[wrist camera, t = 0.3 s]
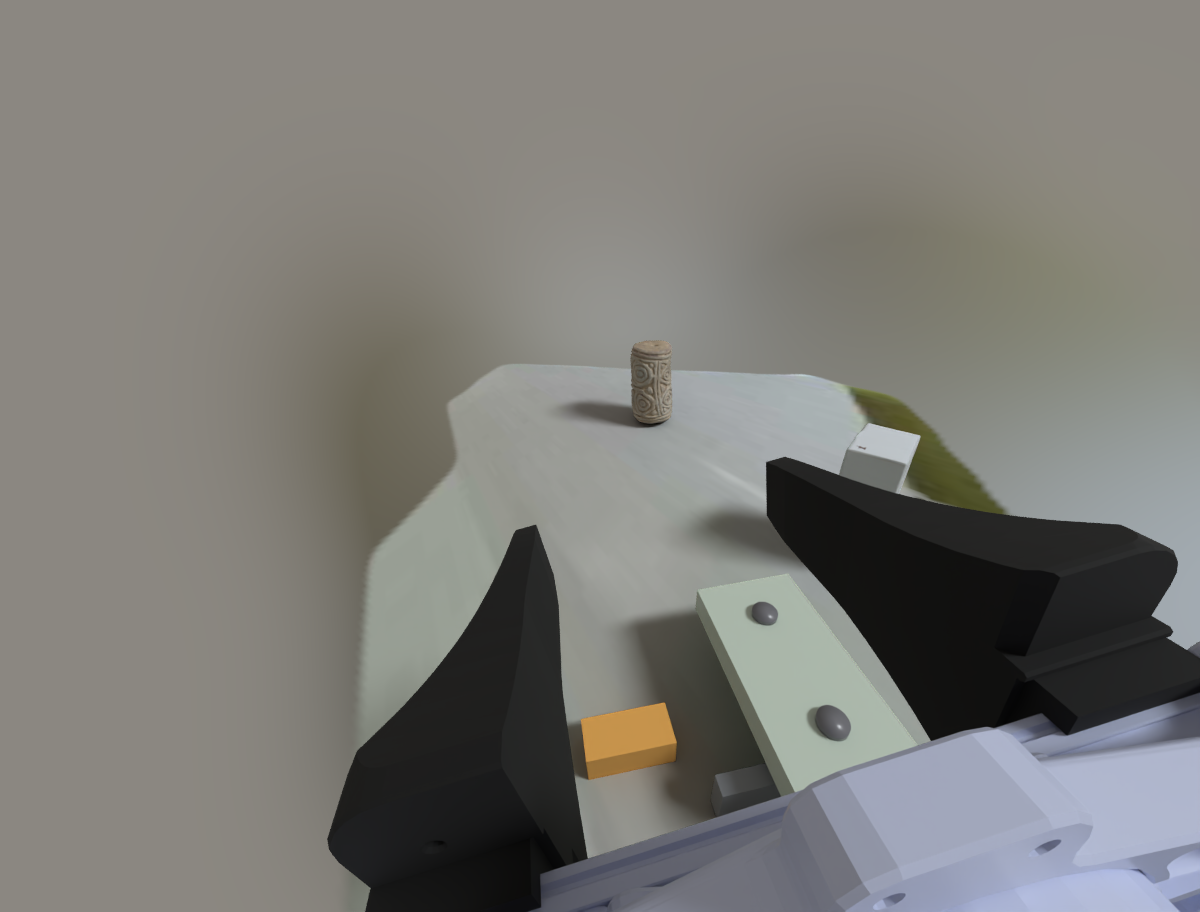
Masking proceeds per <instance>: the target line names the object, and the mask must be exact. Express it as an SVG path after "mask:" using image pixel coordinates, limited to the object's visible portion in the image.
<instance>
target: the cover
mask: <svg viewBox="0 0 1200 912" xmlns="http://www.w3.org/2000/svg"><path fill="white" fill-rule="evenodd" d="M696 611H697V613H698V615H699V618H700V620H701V622H702V624H703V626H704V628H705V631H706V633H707V635H708V637H709V639H710V642H711V644H712V646H713V648H714V650H715V653H716V655H717V657H718V659H719V661H720V664H721V666H722V668H723V670H724V672H725V675H726V677H727V679H728V681H729V683H730V686H731V688H732V690H733V692H734V694H735V697H736V699H737V701H738V703H739V705H740V708H741V710H742V712H743V714H744V716H745V719H746V721H747V723H748V725H749V727H750V730H751V732H752V734H753V736H754V738H755V740H756V743H757V745H758V747H759V749H760V751H761V754H762V756H763V758H764V760H765V762H766V765H767V767H768V769H769V771H770V773H771V776H772V778H773V780H774V782H775V784H776V787H777V789H778V791H779V793H780V795H781V797H782V796H785V795H788V794H791V793H794V792H797V791H800V790H803V789H805V788H806V787H807V786H808V785H809V784H811V783H813V782H815V781H817V780H819V779H822V778H824V777H826V776H828V775H830V774H833V773H835V772H837V771H840V770H843V769H846V768H849V767H852V766H855V765H859V764H862V763H865V762H868V761H871V760H874V759H877V758H880V757H884V756H887V755H890V754H893V753H896V752H899V751H902V750H905V749H909V748H912V747H915V746H918V745H917V743H916V742H915V741H914V739H913V738H912V737H911V735H910V734H909V733H908V731H907V730H906V729H905V728H904V726H903V725H902V724H901V722H900V721H899V720H898V718H897V717H896V716H895V714H894V713H893V712H892V710H891V709H890V708H889V706H888V705H887V704H886V702H885V701H884V700H883V698H882V697H881V696H880V694H879V693H878V692H877V690H876V689H875V688H874V687H873V685H872V684H871V683H870V681H869V680H868V679H867V677H866V676H865V675H864V673H863V672H862V671H861V669H860V668H859V667H858V665H857V664H856V663H855V661H854V660H853V659H852V657H851V656H850V655H849V653H848V652H847V651H846V649H845V648H844V647H843V646H842V644H841V643H840V642H839V640H838V639H837V638H836V636H835V635H834V634H833V632H832V631H831V630H830V628H829V627H828V626H827V624H826V623H825V622H824V620H823V619H822V618H821V616H820V615H819V614H818V612H817V611H816V610H815V608H814V607H813V606H812V605H811V603H810V602H809V601H808V599H807V598H806V597H805V595H804V594H803V593H802V591H801V590H800V589H799V587H798V586H797V585H796V583H795V582H794V581H793V579H792V578H791V577H790V575H789V574H783V575H778V576H772V577H767V578H761V579H755V580H750V581H744V582H739V583H733V584H728V585H722V586H716V587H711V588H705V589H700V590H697V598H696Z"/></svg>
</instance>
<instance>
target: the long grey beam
mask: <svg viewBox="0 0 1200 912" xmlns="http://www.w3.org/2000/svg"><path fill="white" fill-rule="evenodd" d="M779 797H781V795H780V793H779V791H778V789H777V787H776V784H775V782H774V780H773V778H772V776H771V773H770V771H769V769H768V767H767V765H766V763H763V764H759V765H755V766H751V767H746V768H742V769H738V770H734V771H729V772H725V773H721V774H717V775H715V777H714V783H713V788H712V794H711V799H710V800H711V803H712V806H713V809H714V812H715V815H716V817H720V816H723V815H726V814H729V813H732V812H735V811H738V810H741V809H744V808H748V807H751V806H754V805H757V804H760V803H763V802H766V801H769V800H772V799H776V798H779Z"/></svg>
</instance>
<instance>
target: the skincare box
mask: <svg viewBox="0 0 1200 912" xmlns="http://www.w3.org/2000/svg"><path fill="white" fill-rule="evenodd" d="M919 440H920V436H919V435H915V434H911V433H907V432H903V431H898V430H894V429H890V428H886V427H882V426H878V425H874V424H870V423H868V424H866V425H865V426H864V428H863V429H862V430H861V432H859V433H858V434H857V435H856V437H855V439H854V440H853V442H852V443H851V444H850V446H849V447H848V449H847V450H846V453H845V457H844V460H843V463H842V466H841V470H840V473H839V475H840V476H843V477H846V478H849V479H852V480H855V481H857V482H861V483H864V484H867V485H870V486H873V487H876V488H880V489H883V490H887V491H890V492H893V493H897V494H899V492H900V490H901V487H902V485H903V482H904V479H905V477H906V474H907V471H908V469H909V466H910V463H911V461H912V458H913V456H914V453H915V450H916V448H917V445H918V442H919Z"/></svg>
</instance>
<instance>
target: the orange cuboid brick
mask: <svg viewBox="0 0 1200 912" xmlns="http://www.w3.org/2000/svg"><path fill="white" fill-rule="evenodd" d="M581 723H582V732H583V740H584V748H585V757H586V764H587V771H588V778H589V780H591V779H595V778H600V777H605V776H609V775H614V774H618V773H623V772H628V771H632V770H637V769H642V768H646V767H651V766H655V765H660V764H665V763H669V762H674V761H675V760H676V747H677V742H676V738H675V735H674V732H673V728H672V725H671V722H670V718H669V715H668V711H667V708H666V705H665V702H664V703H659V704H654V705H649V706H644V707H639V708H634V709H629V710H624V711H619V712H614V713H609V714H604V715H599V716H594V717H589V718H584V719H581Z"/></svg>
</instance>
